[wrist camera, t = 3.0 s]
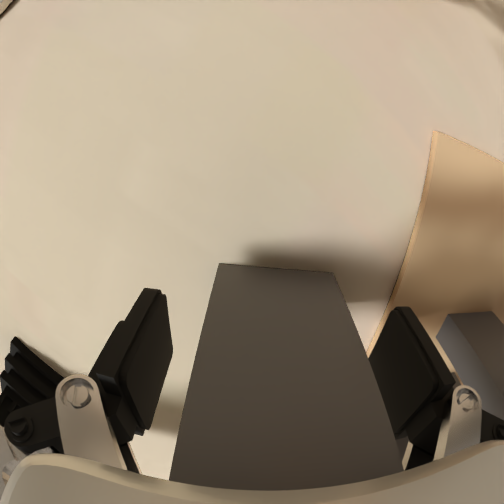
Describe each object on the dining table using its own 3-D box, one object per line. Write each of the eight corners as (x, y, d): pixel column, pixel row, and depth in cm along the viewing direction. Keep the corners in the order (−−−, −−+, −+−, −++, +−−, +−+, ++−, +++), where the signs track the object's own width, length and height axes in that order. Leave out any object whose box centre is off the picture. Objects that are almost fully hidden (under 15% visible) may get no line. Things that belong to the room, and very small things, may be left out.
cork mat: (433, 130, 9) (438, 131, 8) (554, 197, 9) (557, 199, 9) (296, 465, 23) (296, 467, 22) (402, 449, 23) (403, 451, 23)
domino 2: (447, 313, 12) (527, 448, 3) (492, 311, 12) (562, 413, 3) (435, 337, 13) (501, 469, 4) (480, 331, 13) (542, 434, 4)
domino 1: (218, 263, 12) (161, 522, 3) (332, 272, 12) (412, 505, 3) (217, 297, 12) (176, 527, 3) (323, 305, 13) (375, 519, 4)
